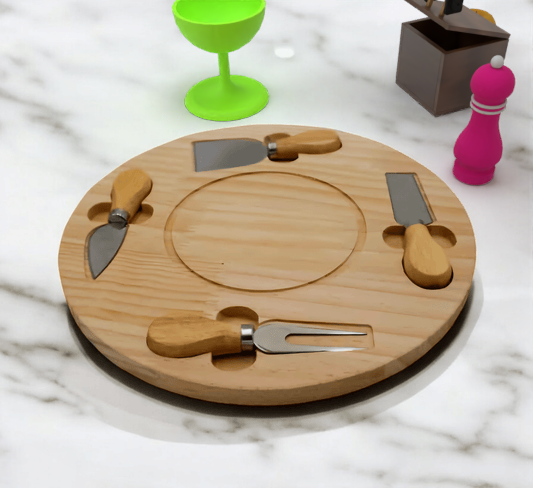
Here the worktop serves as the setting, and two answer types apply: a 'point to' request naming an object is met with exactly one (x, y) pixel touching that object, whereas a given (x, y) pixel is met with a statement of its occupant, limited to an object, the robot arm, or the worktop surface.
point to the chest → (442, 64)
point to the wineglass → (222, 55)
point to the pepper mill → (483, 124)
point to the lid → (458, 19)
